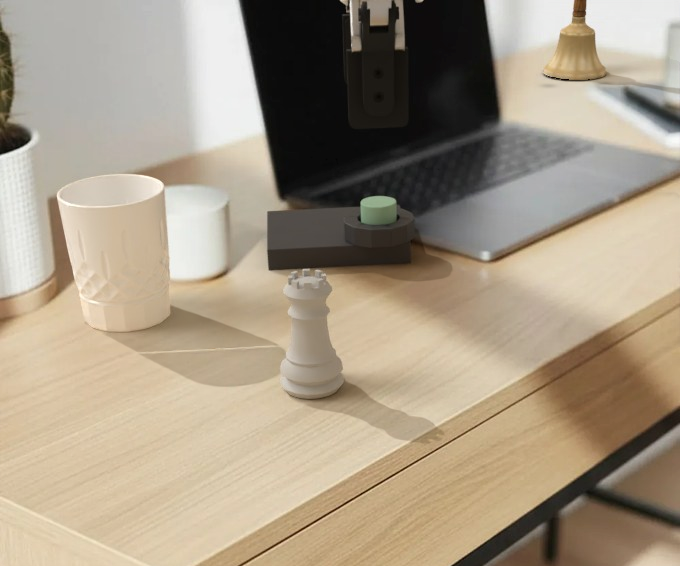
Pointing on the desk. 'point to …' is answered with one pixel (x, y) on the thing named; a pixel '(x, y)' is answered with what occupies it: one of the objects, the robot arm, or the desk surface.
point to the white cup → (118, 249)
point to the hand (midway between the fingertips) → (374, 103)
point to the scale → (336, 239)
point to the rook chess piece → (310, 339)
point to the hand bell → (576, 50)
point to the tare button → (378, 210)
